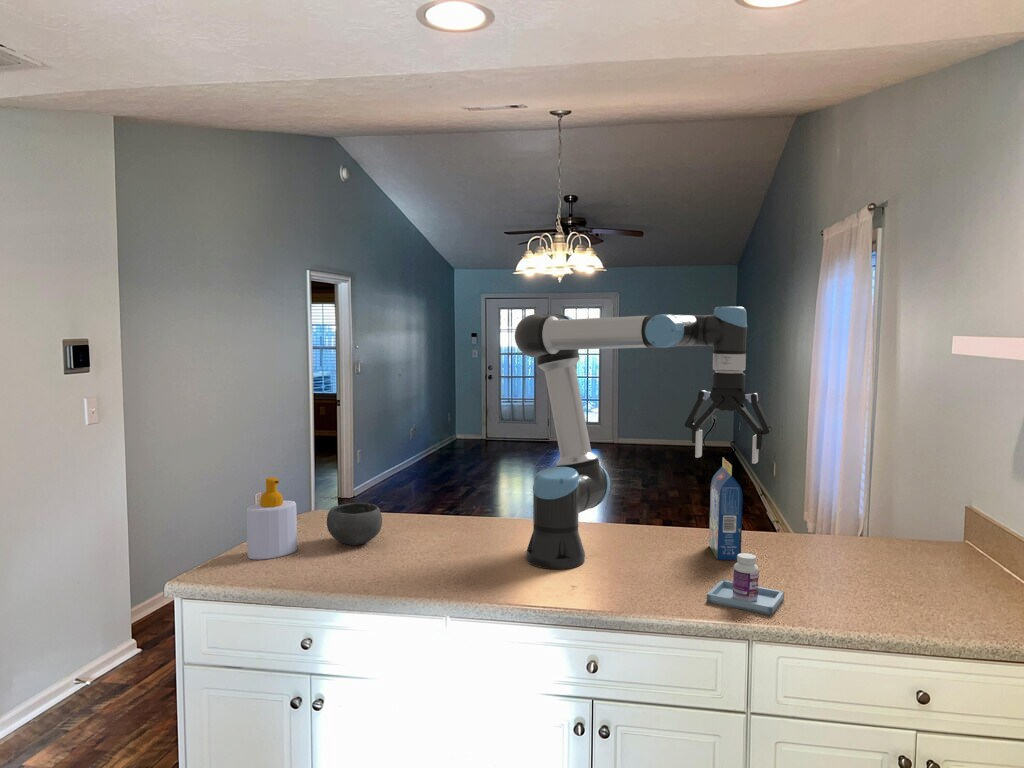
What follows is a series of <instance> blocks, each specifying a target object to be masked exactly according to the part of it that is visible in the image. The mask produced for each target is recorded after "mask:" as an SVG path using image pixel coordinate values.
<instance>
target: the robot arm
mask: <svg viewBox="0 0 1024 768" xmlns="http://www.w3.org/2000/svg"><path fill="white" fill-rule="evenodd" d="M747 316H748V315H747V310H746V308H745V307H743V306H716V307H715V308H714V309H713V314H707V315H706V314H705V315H704V314H702V315H701V314H670V313H661V314H657V315H656V314H655V315H634V316H633V315H632V316H631V315H629V316H614V317H610V316H609V317H593V318H591V317H590V318H572V317H570V316H568V315H564V314H561V313H554V314H553V313H551V314H549V313H547V314H546V313H545V314H542V313H534V314H529V315H526V316H525V317H523V318H522V319H521V320H520V321H519V322H518V323H517V326H516V328H515V330H514V341H515V344H516V346H517V348H518V349H519V351H520V352H521V353H522V354H523V355H525V356H527V357H530V358H536V362H537V367H538V368H539V369H541V370H542V371H543V372H544V374H545V381H546V386H547V390H548V391H547V392H548V397H549V401H550V407H551V413H552V418H553V423H554V428H555V434H556V440H557V446H558V450H559V455H560V457H559V459H558V461H557V462H556V464H555V465H556V466H553V467H547V468H543V469H541V470H539V471H538V472H537V473H535V476H534V478H533V485H532V491H533V493H532V494H533V495H532V496H533V498H532V499H533V509H532V510H533V518H532V519H533V521H532V522H533V527H532V533H531V537H530V539H529V542H528V545H527V549H526V553H525V554H526V558H525V559H526V562H527V563H528V564H530V565H532V566H535V567H538V568H542V569H550V570H564V569H565V570H567V569H572V568H576V567H579V566H581V565H583V564H584V563H585V561H586V555H585V554H586V552H585V549H584V545H583V542H582V539H581V535H580V532H579V514H580V513H583V512H585V511H587V510H589V509H593V508H597V506H599V505H600V504H601V503H603V502H604V501H605V499H607V497H608V495H609V493H610V490H611V480H610V479H611V478H610V476H609V473H608V471H606V469H605V468H603V466H602V465H601V464H600V460H599V457H598V455H597V454H595V453H594V452H593V451H592V448H591V447H592V446H591V443H590V436H589V432H588V427H587V422H586V416H585V415H586V414H585V411H584V404H583V399H582V394H581V389H580V384H579V379H578V373H577V367H576V365H577V364H578V362H579V361H580V354H579V353H580V352H579V350H600V349H604V350H605V349H608V350H609V349H640V348H641V349H642V348H645V349H647V348H652V349H653V348H661V349H666V348H667V349H669V348H675V347H713V348H712V370H713V371H714V372H713V373H712V377H711V378H712V380H711V381H712V382H711V391H707V390H706V389H703V390H698V395H697V400H696V402H695V403H694V405H693V407H692V409H691V411H690V412H689V415H688V417H687V419H686V421H685V423H684V427H685V428H689V429H690V430H691V443H692V444H695V451H694V453H695V455H694V456H695V458H697V459H698V458H701V457H702V456H703V429H700V428H701V427H702V426H703V425H704V424H705V423H706V422H707V421H708V420H709V419H710V417H711V416H712V415H713V414H714V413H716V411H717V410H720V411H722V412H723V411H728V412H734V411H735V412H737V413H738V414H740V415H741V416H742V418H743V419H744V421H745V422H746V423H747V424H748V426H749V428H751V430H752V431H753V432H754V433H755V435H752V450H751V464H757V463H758V462H759V453H760V452H759V450H762V449H763V447H764V437H765V436H766V435H768V434H770V433H772V432H773V428H772V427H771V425H770V423H769V420H768V418H767V416H766V414H765V412H764V410H763V407H762V406H761V403H760V397H759V396H760V395H759V394H758V392H754V393H746V386H745V385H746V374H745V372H744V371H746V370H747V369H746V366H747V364H746V361H747V335H748V334H747V332H748V331H747V330H748V324H747V322H748V320H747V319H748V318H747ZM709 397H710V399H711V400H712V402H713V403H712V404H711V405H709V407H708V409H706V411H705V412H704V413H703V414H702V415H701V416H700V417H699V419H697V421H695V420H696V418H697V417H698V415H699V414H700V411H701V409H702V408H703V406H704V404H705V402H706V401H707V400H708V399H709ZM746 400H747V401H748V402H749V403H750V404H751V406H752V409H753V411H754V413H755V415H756V417H757V420H758V422H759V423H758V422H757V420H755V418H754V416H753V415H752V414H751V413H750V412H749V410H748V409H747V407H746V406H745V404H744V403H745V401H746ZM694 422H695V423H694Z"/></svg>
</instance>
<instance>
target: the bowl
mask: <svg viewBox="0 0 1024 768" xmlns="http://www.w3.org/2000/svg"><path fill="white" fill-rule="evenodd" d="M382 517H383V516H382V511H381V509H380V507H379V506H377V505H375V504H373V503H370V502H369V503H368V502H349V503H343V504H339V505H334V506H332V507H331V508H330V509H329V511H328V513H327V517H326V527H327V531H328V533H329V535H331V537H332V538H333V539H334V540H336V541H337V542H339V543H341V544H344V545H345V544H346V545H350V546H351V545H353V546H354V545H355V546H357V545H362V544H366V543H368V542H370V541H371V540H372V539H374V538H375V537H376V536H377V535H379V534H380V532H381V530H382V526H383V518H382Z"/></svg>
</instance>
